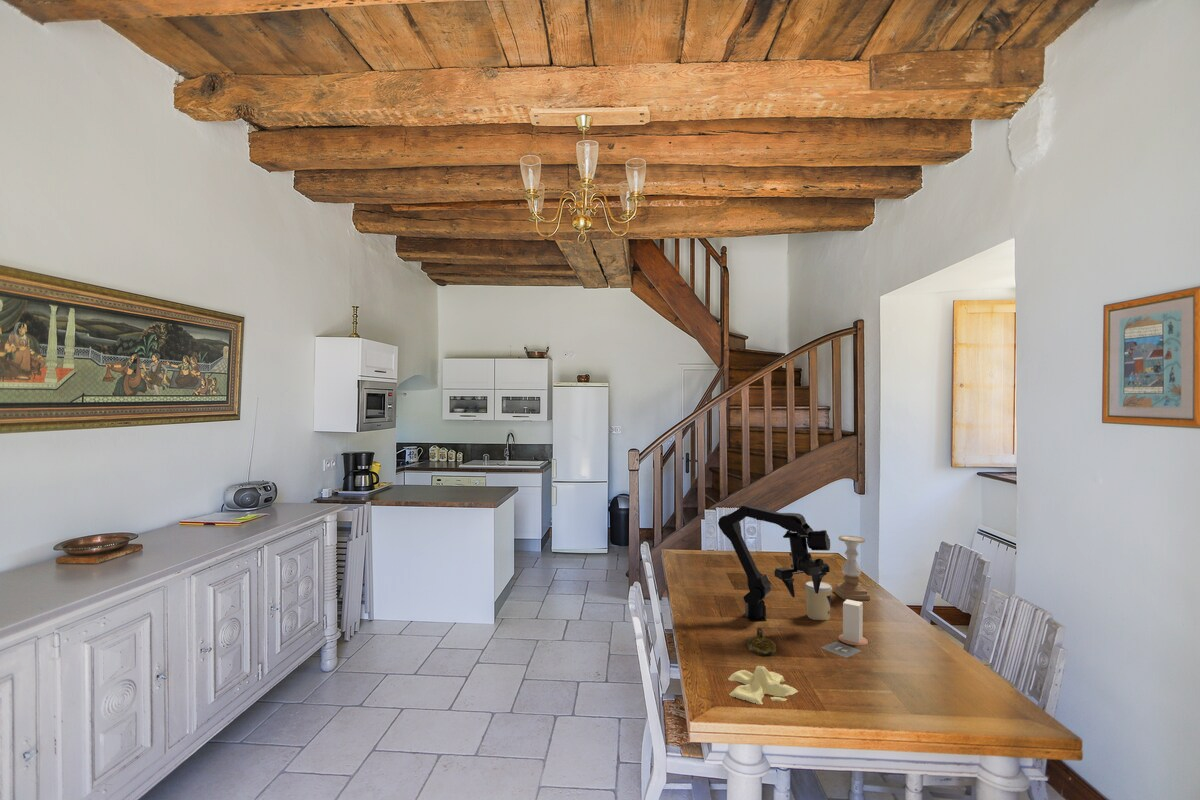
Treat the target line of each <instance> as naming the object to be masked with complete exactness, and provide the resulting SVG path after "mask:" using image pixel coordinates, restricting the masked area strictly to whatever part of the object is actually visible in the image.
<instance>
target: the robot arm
mask: <svg viewBox="0 0 1200 800" xmlns="http://www.w3.org/2000/svg"><path fill="white" fill-rule="evenodd" d="M745 518H750V519H755V520H758V521H764V522H767V523H771V524H775V525H776V526H780V527H781V528H782V529H784V530H786V532H785V534H784V535H782V538H784V539H788V540H789V545H790V552H789V556H790V557H791V564H790V568H787V567H778V568H775V569H774V572H773V573H774V577H775V578H777V579H779V580H781V581H782V583H783V584H784V585H785V587H786V589H787V590H788V592H789V594H790V597H792V598H795V597H796V596H795V595H796V593H795V588H794V581H795V578H793V576H794V575H798V574H805V575H807V576H809V577H811V580H812V581H813V586H814V590H815V593H816V594H818V592H819V587H820V583H821V582H822V579H823V578H824V577H825V576H827V575H828V573H830V572H831V569H830V566H829V564H828V563H826V562H824V560H823V558H815V559H813V558H812V554H811V553H810V552H809V550H808V548H809V549H810V550H811V551H823V552H824V551H830V550H831V539H830V537H829V535H828V532H827V530H825V529H823V530H814V529H813V528H812V527H811V526H810V525H809V523H807V520H806V518H805V516H804V515H803V514H801V513H798V512H797V513H796V512H778V511H773V510H769V509H765V508H761V507H757V506H752V505H750V504H744V505H741V506H740V507H739V508H737V509H736V510H734V511H733V512H731V513H728V514H725V515H722V516H720V517H719V519H718V522H717V524H718V528H719V529H720V531H721V533H723V535H724V536H725V537H726V538H727V539H728V540H729V541H730V543H731V545H732V547H733V549H734V552H735V554H736V556H737V558H738V560H739V562H740V564H741V567H742V569H743V571H744V573H745V575H746V579H747V581H746V582H747V587H748V591H749V592H747V593H746V594H745V595H744V596H743V602H744V603H745V605H744V606H745V607H744V608H745V612H744V613H743V616H745V618H746V619H747V620H748V621H757V622H758V621H767V618H766V617H767V606H766V604H765V601H764V600H765V599H766V597H767V596H768V595H769V594H771V592H772V591H771V590H772V588H771V585H772V583H771V582H770V580H769V578H768V575H767V574H766V573H765V574H762V573H761V572H760V571H759V569H758V568H757V565H756V563H755V560H754V559H753V557H752V554H751V552H750V550H749V549H748V546H747V544H746V542H745V540H744V538H743V536H742V528H741V523H740V522H741V521H743V520H745Z"/></svg>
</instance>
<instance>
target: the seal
mask: <svg viewBox="0 0 1200 800" xmlns="http://www.w3.org/2000/svg"><path fill="white" fill-rule="evenodd" d="M746 648H747V649H748V650H749V651H750V652H752V653H754V654H755V655H758V656H762V657H767V656H773V655H774V654H775V653H776V652H777V645H776V643H775V642H774V641H773V640H771V639H770V638H768V637H765V636H764V633H763V629H762V628H761V627H758V628H757V631H756V635H755V636H753V637H750V638H749V639H748V640H747V641H746Z"/></svg>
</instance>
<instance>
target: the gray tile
mask: <svg viewBox="0 0 1200 800" xmlns="http://www.w3.org/2000/svg"><path fill="white" fill-rule="evenodd" d="M820 649H822V650H826V651H828V652H829V653H833V654H835V655H838V656H841V657H843V658H846V659H847V658H849V657H851V656H854V655H856V654H859V653H861V652H862V650H861V649H858V648H855V647H853V646H850V645H848V644H846V643H845V644H844V643H843V642H839V641H834V642H831V643H829V644H826V645H823V646H821V647H820Z"/></svg>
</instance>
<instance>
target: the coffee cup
mask: <svg viewBox="0 0 1200 800" xmlns="http://www.w3.org/2000/svg"><path fill="white" fill-rule="evenodd" d="M804 587H805V600H806V615H807V618H808V619H811V620H814V621H829V620H830V618H831V617H830V616H831V604H832V590H833V587H832V585H831V584H829V583H827V582H824V581H821V583H820V587H819V592H818V594H816V593H815V590H814V586H813V581H807V582H806V583H805V584H804Z"/></svg>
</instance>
